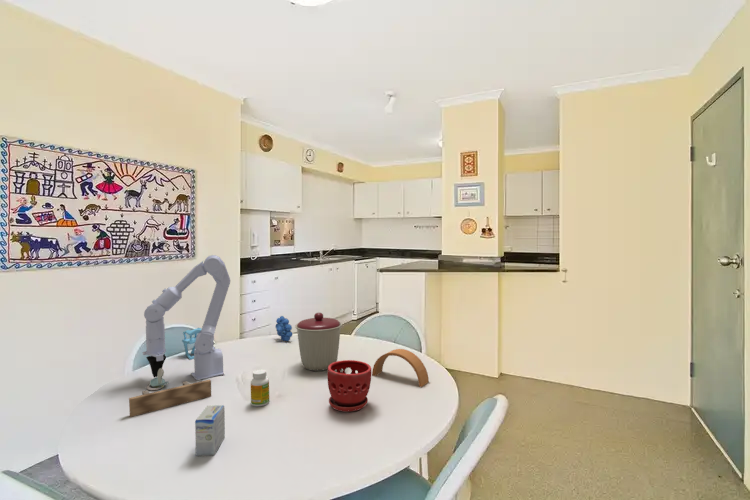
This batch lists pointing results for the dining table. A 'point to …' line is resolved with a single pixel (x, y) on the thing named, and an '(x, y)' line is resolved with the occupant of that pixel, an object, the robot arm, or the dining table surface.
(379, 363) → the arch
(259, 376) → the supplement bottle
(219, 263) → the robot arm
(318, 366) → the canister
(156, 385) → the pacifier
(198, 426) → the medicine box
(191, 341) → the chair
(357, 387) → the plant pot
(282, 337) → the grapes
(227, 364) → the dining table surface
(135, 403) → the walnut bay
